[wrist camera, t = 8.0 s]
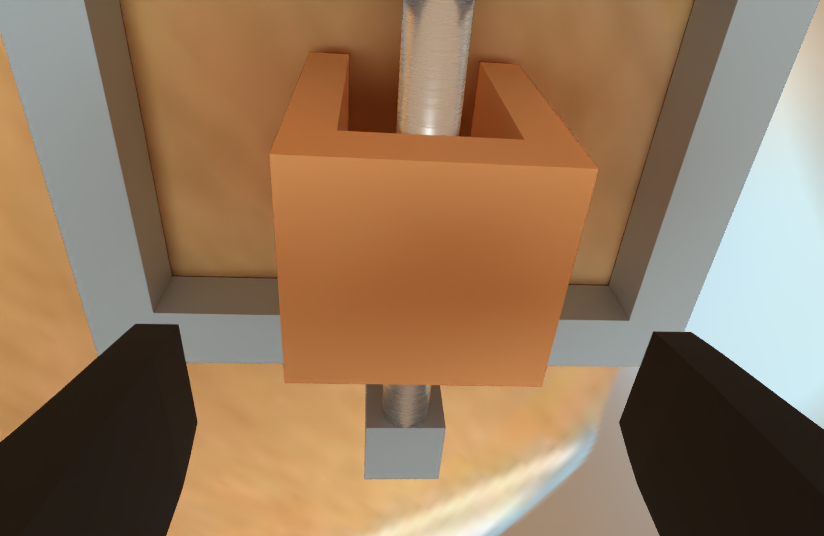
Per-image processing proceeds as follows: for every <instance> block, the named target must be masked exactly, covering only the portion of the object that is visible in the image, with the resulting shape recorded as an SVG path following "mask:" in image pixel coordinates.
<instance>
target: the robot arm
mask: <svg viewBox="0 0 824 536" xmlns="http://www.w3.org/2000/svg"><path fill="white" fill-rule="evenodd" d="M619 423H620V427H621V431H622V434H623V438H624V442H625V445H626V449H627V453H628V456H629V459H630V463H631V465H632V469H633V472H634V475H635V478H636V481H637V484H638V487H639V489H640V491H641V494H642V496H643V498H644V501H645V503H646V505H647V507H648V510H649V512H650V515H651V517H652V519H653V521H654V524H655V526H656V528H657V531H658V533H659V535H660V536H824V429H822V428H821V427H819V426H818V425H817V424H815V423H814V422H813V421H811V420H810V419H809V418H807V417H806V416H805V415H803V414H802V413H801V412H799V411H798V410H797V409H795V408H794V407H792V406H791V405H790V404H789V403H787V402H786V401H785V400H783V399H782V398H780V397H779V396H778V395H777V394H775V393H774V392H773V391H771V390H770V389H769V388H767V387H766V386H764V385H763V384H762V383H761V382H759V381H758V380H757V379H755V378H754V377H753V376H751V375H750V374H749V373H747V372H746V371H745V370H743V369H742V368H741V367H739V366H738V365H737V364H735V363H734V362H733V361H731V360H730V359H729V358H727V357H726V356H725V355H723V354H722V353H720V352H719V351H718V350H716V349H715V348H714V347H712V346H711V345H709V344H708V343H706V342H705V341H704V340H702V339H700V338H699V337H697V336H696V335H694V334H693V333H691V332H657V331H653V333H652V336H651V339H650V341H649V344H648V347H647V349H646V352H645V355H644V357H643V360H642V363H641V365H640V368H639V371H638V373H637V376H636V379H635V382H634V384H633V387H632V389H631V392H630V395H629V398H628V400H627V403H626V406H625V408H624V411H623V414H622V416H621V419H620V422H619ZM196 426H197V417H196V412H195V407H194V402H193V397H192V391H191V386H190V381H189V376H188V371H187V366H186V360H185V355H184V350H183V345H182V340H181V334H180V329H179V324H135V325H133V326H132V327H131V328H130V329H129V330H128V331H126V332H125V333H124V334H123V335H122V336H121V337H120V338H119V339H117V340H116V341H115V342H114V343H113V344H112V345H111V346H110V347H108V348H107V349H106V350H105V351H104V352H103V353H102V354H101V355H99V356H98V357H97V358H96V359H95V360H94V361H93V362H92V363H91V364H90V365H88V366H87V367H86V368H85V369H84V370H83V371H82V372H81V373H80V374H78V375H77V376H76V377H75V378H74V379H73V380H72V381H71V382H69V383H68V384H67V385H66V386H65V387H64V388H63V389H62V390H61V391H59V392H58V393H57V394H56V395H55V396H54V397H53V398H51V399H50V400H49V401H48V402H47V403H46V404H45V405H43V406H42V407H41V408H40V409H39V410H38V411H36V412H35V413H34V414H33V415H32V416H31V417H30V418H28V419H27V420H26V421H25V422H24V423H23V424H21V425H20V426H19V427H18V428H17V429H16V430H15V431H13V432H12V433H11V434H10V435H9V436H7V437H6V438H5V439H4V440H2V441H1V442H0V536H166V535H167V532H168V529H169V526H170V523H171V520H172V517H173V514H174V512H175V509H176V506H177V503H178V500H179V497H180V494H181V491H182V488H183V485H184V481H185V476H186V472H187V468H188V463H189V459H190V455H191V450H192V445H193V440H194V436H195V431H196Z"/></svg>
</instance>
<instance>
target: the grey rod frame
mask: <svg viewBox="0 0 824 536" xmlns="http://www.w3.org/2000/svg"><path fill="white" fill-rule="evenodd" d="M474 2H475V0H403V13H402V32H401V51H400V70H399V90H398V109H397V128H396V133H398V134H418V135H439V136H459V134H460V126H461V117H462V108H463V99H464V90H465V82H466V73H467V64H468V55H469V46H470V38H471V29H472V20H473V11H474ZM818 3H819V0H695V1H694V5H693V8H692V11H691V14H690V18H689V21H688V24H687V28H686V31H685V34H684V38H683V41H682V44H681V48H680V51H679V54H678V57H677V61H676V64H675V67H674V71H673V74H672V77H671V81H670V84H669V87H668V91H667V94H666V97H665V100H664V104H663V107H662V110H661V114H660V117H659V120H658V124H657V127H656V130H655V134H654V137H653V140H652V144H651V147H650V150H649V153H648V157H647V160H646V163H645V167H644V170H643V173H642V177H641V180H640V183H639V187H638V190H637V193H636V196H635V200H634V203H633V206H632V210H631V213H630V216H629V220H628V223H627V226H626V230H625V233H624V236H623V239H622V243H621V246H620V249H619V253H618V256H617V259H616V263H615V266H614V269H613V273H612V276H611V279H610V282H609V286H604V285H568V288H567V292H566V296H565V300H564V303H563V307H562V311H561V315H560V319H559V323H558V326H557V330H556V334H555V338H554V342H553V345H552V349H551V353H550V357H549V361H548V365H547V366H604V367H640V365H641V363H642V360H643V357H644V355H645V352H646V349H647V347H648V344H649V341H650V339H651V336H652V333H653V331H657V332H684V330H685V328H686V325H687V323H688V320H689V318H690V316H691V313H692V311H693V308H694V306H695V303H696V301H697V299H698V296H699V294H700V291H701V289H702V286H703V284H704V281H705V279H706V276H707V274H708V272H709V269H710V267H711V264H712V262H713V260H714V257H715V254H716V252H717V250H718V247H719V245H720V242H721V240H722V237H723V235H724V232H725V230H726V228H727V225H728V223H729V220H730V218H731V216H732V213H733V211H734V208H735V206H736V203H737V201H738V198H739V196H740V194H741V191H742V189H743V186H744V184H745V181H746V179H747V176H748V174H749V172H750V169H751V166H752V164H753V162H754V159H755V157H756V154H757V152H758V149H759V147H760V144H761V142H762V140H763V137H764V135H765V132H766V130H767V128H768V125H769V123H770V120H771V118H772V115H773V113H774V110H775V108H776V106H777V103H778V100H779V98H780V96H781V93H782V91H783V88H784V86H785V84H786V81H787V78H788V76H789V74H790V71H791V69H792V66H793V64H794V62H795V59H796V57H797V54H798V52H799V49H800V47H801V44H802V42H803V39H804V37H805V35H806V32H807V30H808V27H809V25H810V23H811V20H812V18H813V15H814V13H815V10H816V8H817V5H818ZM0 33H1V36H2V39H3V43H4V46H5V49H6V53H7V56H8V59H9V63H10V66H11V69H12V73H13V76H14V79H15V82H16V86H17V89H18V92H19V96H20V99H21V102H22V106H23V109H24V112H25V116H26V119H27V122H28V126H29V129H30V132H31V136H32V139H33V142H34V145H35V149H36V152H37V155H38V159H39V162H40V165H41V169H42V172H43V175H44V179H45V182H46V185H47V189H48V192H49V195H50V199H51V202H52V205H53V209H54V212H55V215H56V218H57V222H58V225H59V228H60V232H61V235H62V238H63V242H64V245H65V248H66V252H67V255H68V258H69V262H70V265H71V268H72V272H73V275H74V278H75V282H76V285H77V288H78V291H79V295H80V298H81V301H82V305H83V308H84V311H85V315H86V318H87V321H88V325H89V328H90V331H91V335H92V338H93V341H94V345H95V348H96V351H97V354H98V356H99V355H101V354H102V353H103V352H104V351H105V350H106V349H107V348H108V347H110V346H111V345H112V344H113V343H114V342H115V341H116V340H117V339H119V338H120V337H121V336H122V335H123V334H124V333H125V332H126V331H128V330H129V329H130V328H131V327H132V326H133V325H135V324H179V329H180V334H181V340H182V345H183V350H184V355H185V360H186V362H188V363H283V351H282V336H281V321H280V306H279V292H278V279H276V278H230V277H183V276H172V274H171V269H170V264H169V259H168V253H167V248H166V243H165V238H164V232H163V227H162V222H161V217H160V212H159V206H158V201H157V196H156V191H155V185H154V180H153V175H152V170H151V165H150V159H149V154H148V149H147V144H146V138H145V133H144V128H143V123H142V118H141V112H140V107H139V102H138V97H137V91H136V86H135V81H134V76H133V70H132V65H131V60H130V55H129V50H128V44H127V39H126V34H125V29H124V23H123V18H122V13H121V8H120V3H119V0H0ZM444 435H445V421H444V413H443V406H442V398H441V391H440V385H391V384H366V397H365V473H364V479H438V478H439V471H440V464H441V457H442V450H443V443H444Z"/></svg>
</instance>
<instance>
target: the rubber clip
mask: <svg viewBox="0 0 824 536" xmlns="http://www.w3.org/2000/svg"><path fill="white" fill-rule="evenodd" d="M348 95H349V54H335V53H319V52H309V54H308V57H307V59H306V62H305V64H304V67H303V70H302V72H301V75H300V77H299V80H298V82H297V85H296V87H295V90H294V92H293V95H292V98H291V100H290V103H289V105H288V108H287V110H286V113H285V115H284V118H283V120H282V123H281V126H280V128H279V131H278V133H277V136H276V138H275V141H274V143H273V146H272V148H271V151H270V154H269V158H270V172H271V187H272V202H273V217H274V232H275V247H276V262H277V277H278V292H279V306H280V321H281V336H282V351H283V366H284V381H285V383H322V384H391V385H460V386H529V387H542V384H543V380H544V376H545V372H546V368H547V365H548V361H549V357H550V353H551V349H552V345H553V342H554V338H555V334H556V330H557V326H558V323H559V319H560V315H561V311H562V307H563V303H564V300H565V296H566V292H567V288H568V284H569V281H570V277H571V273H572V269H573V265H574V261H575V258H576V254H577V250H578V246H579V242H580V239H581V235H582V231H583V227H584V223H585V220H586V216H587V212H588V208H589V204H590V200H591V197H592V193H593V189H594V185H595V181H596V178H597V174H598V170H599V169H598V167H597V166H596V165H595V164H594V162H593V161H592V160H591V158H590V157H589V156H588V154H587V153H586V152H585V151H584V149H583V148H582V147H581V145H580V144H579V143H578V142H577V140H576V139H575V138H574V136H573V135H572V134H571V132H570V131H569V130H568V129H567V127H566V126H565V125H564V123H563V122H562V121H561V119H560V118H559V117H558V116H557V114H556V113H555V112H554V110H553V109H552V108H551V107H550V105H549V104H548V103H547V101H546V100H545V99H544V97H543V96H542V95H541V94H540V92H539V91H538V90H537V88H536V87H535V86H534V84H533V83H532V82H531V81H530V79H529V78H528V77H527V75H526V74H525V73H524V72H523V70H522V69H521V68H520V66H519V65H518V64H504V63H487V62H480V68H479V75H478V83H477V91H476V99H475V106H474V114H473V122H472V129H471V137H459V136H439V135H418V134H398V133H377V132H357V131H348Z"/></svg>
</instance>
